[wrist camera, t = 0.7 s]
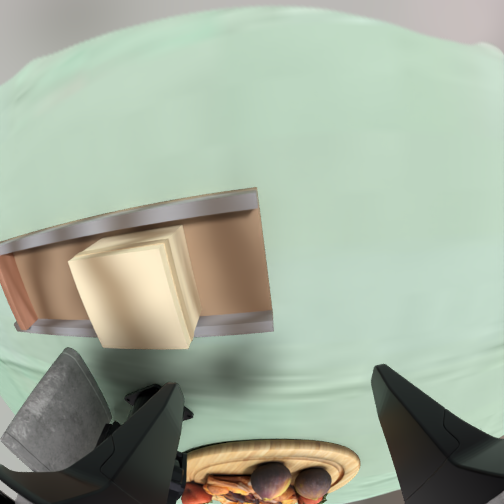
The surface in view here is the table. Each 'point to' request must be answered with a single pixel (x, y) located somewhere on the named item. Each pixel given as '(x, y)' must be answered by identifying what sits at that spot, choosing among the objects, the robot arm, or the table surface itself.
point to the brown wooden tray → (139, 219)
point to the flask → (59, 417)
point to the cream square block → (139, 289)
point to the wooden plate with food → (268, 472)
